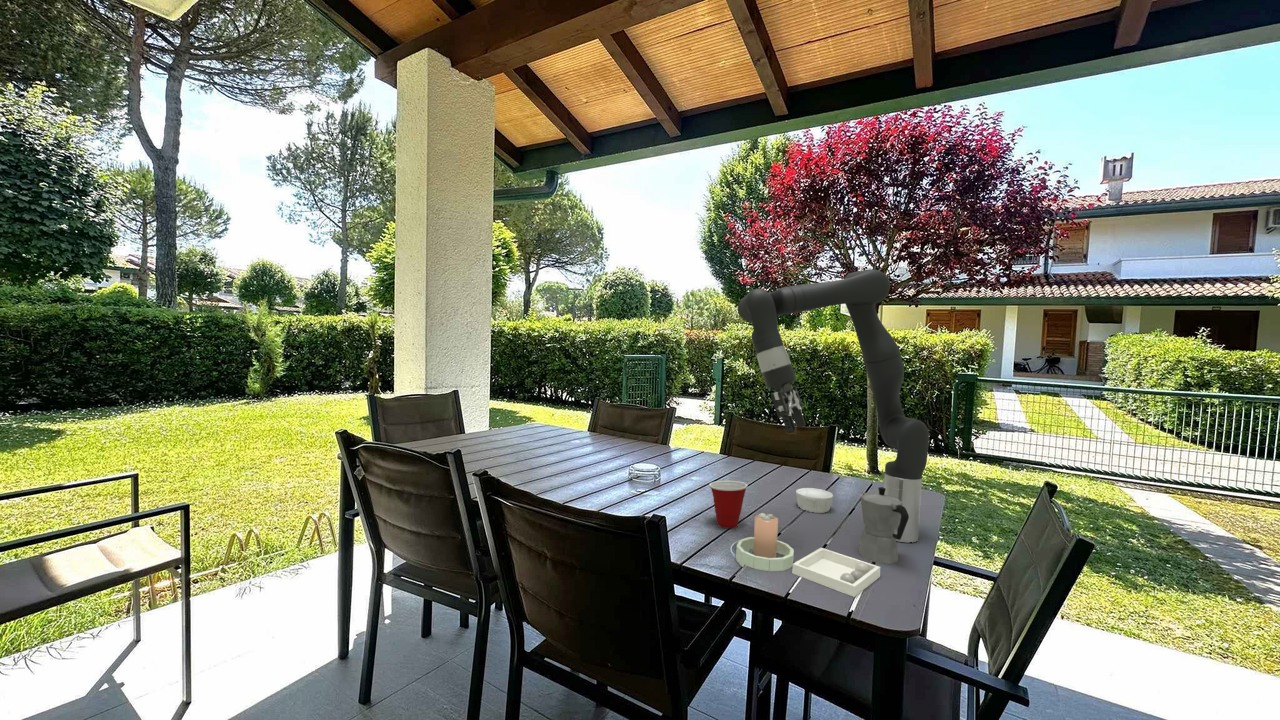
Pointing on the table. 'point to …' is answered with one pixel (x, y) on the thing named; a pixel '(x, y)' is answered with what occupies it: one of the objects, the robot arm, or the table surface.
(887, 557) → the coffeepot
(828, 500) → the ramekin
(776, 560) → the sage bowl
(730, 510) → the plastic cup
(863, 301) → the robot arm
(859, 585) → the parts tray
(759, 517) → the pebble pot
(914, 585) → the table surface
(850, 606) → the table surface
